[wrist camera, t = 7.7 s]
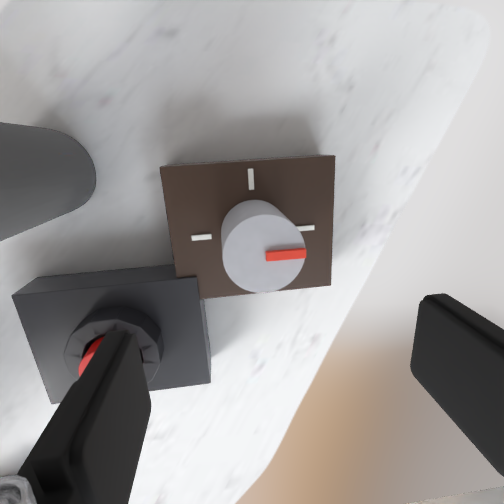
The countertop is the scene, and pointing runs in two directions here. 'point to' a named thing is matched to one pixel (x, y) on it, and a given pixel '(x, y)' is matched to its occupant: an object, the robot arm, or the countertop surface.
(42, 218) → the bottle
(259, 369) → the countertop surface
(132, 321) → the push button base
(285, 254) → the dial
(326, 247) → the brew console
